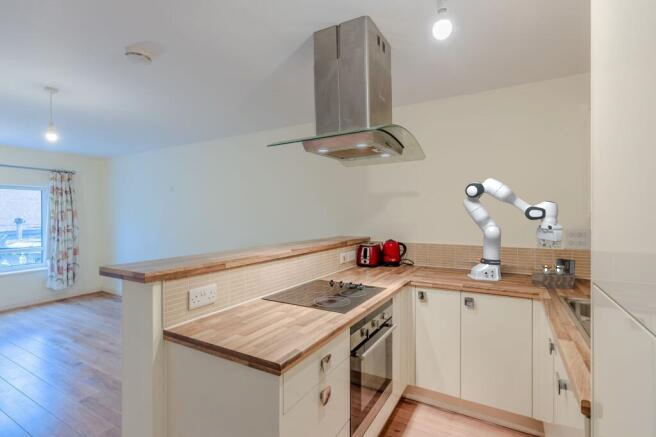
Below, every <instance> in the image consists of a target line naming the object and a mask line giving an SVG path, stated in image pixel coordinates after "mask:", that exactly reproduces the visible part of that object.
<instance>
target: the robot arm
mask: <svg viewBox="0 0 656 437" xmlns="http://www.w3.org/2000/svg"><path fill="white" fill-rule="evenodd" d="M464 192H465V195H466V196H467V197H465V198H464V200H463V201H462V205H463V207H464V208H465V211H466V212H467V214H468V215H469V216H470V218H471V219H472V220H473V221H474V223H475V224H476V225H477V227H478V228H479V229H480V230H481V231H482V232H483V240H482V241H483V243H482V244H483V245H482V246H483V247H482V248H483V250H482V258H480V257H478V258H477V261H479V263H478V264H476V265H474V266H473V267H472V268H471V269H470V270H471V271H470V273H467V277H468V278H470V279H471V280H475V281H491V282H499V281H502V280H503V278H502V274H501V263H502V261H501V247H502V246H501V245H502V228H501V227H500V226H499V224H498V223H497V222H496V221H495V219H494V218H493V217H492V216H491V214H490V213H489V212H488V210H487V209H486V208H485V207H484V205H483V204H482V203H481V201H480V198H481V197H482V196H483V195H484V194H487V195H489V196H491V197H493V198H494V199H496V200H497V201H500V202H503V203H506V204H509V205H512V206H513V207H515V208H517V209H518V210H520V211H521V212H522V213H523V214H524V215H525V218H526V219H527V220H528V221H537V220H538V221H539V220H540V224H539V225H538V227H537V229H536V232H535V238H536V239H540V242H541V246H542V247H546V246H547V243H546V241H550V245H549V248H550V249H555V245H556V244H557V243H561V242H562V241H563V230H564V226H562V225H561V224H560V223H558V216H559V206H558V203H556V202H554V201H549V200H543V201H541V202H540V203H538V204H535V205H534V204H531V203H528V202H526V201H524V200H523V199H522V198H519V197H518V196H517V195H516V194H515V192H514V191H513V190H512V189H511V188H510V187H509V186H507V185H506V184H505V183H503V182H501V181H499V180H498V179H495V178H492V177H490V178H487V179H485V180H484V181H483V182H480V181H475V182H474V181H473V182H471V183H468V185H467V186H466V187H465V190H464Z"/></svg>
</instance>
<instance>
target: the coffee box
mask: <svg viewBox="0 0 656 437" xmlns="http://www.w3.org/2000/svg"><path fill="white" fill-rule="evenodd" d="M555 259H556V260H555V261H556V262H555V265H563V266H565V267H564V268H563V273H564V274H567V275H570V276H573V277H574V279H575V275H576V273H575V272H576V260H574V259H567V258H562V257H561V258H559V257H558V258H555ZM574 284H575V281H574V282H573V285H574Z"/></svg>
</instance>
